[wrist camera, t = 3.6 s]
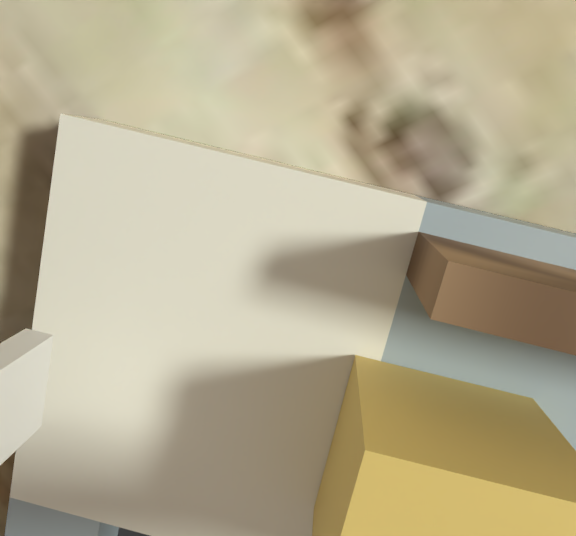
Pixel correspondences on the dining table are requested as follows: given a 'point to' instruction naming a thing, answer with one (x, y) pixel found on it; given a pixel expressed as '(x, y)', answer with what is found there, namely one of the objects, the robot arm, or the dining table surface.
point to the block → (442, 461)
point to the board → (233, 332)
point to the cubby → (495, 292)
